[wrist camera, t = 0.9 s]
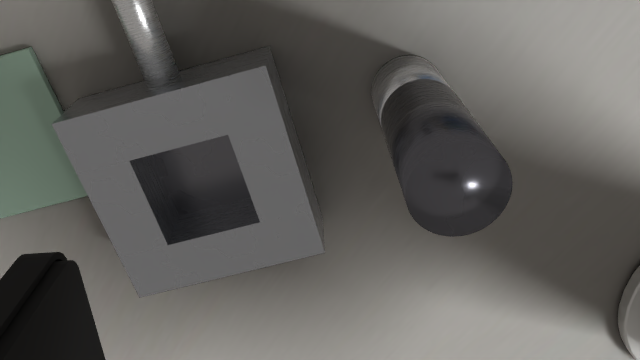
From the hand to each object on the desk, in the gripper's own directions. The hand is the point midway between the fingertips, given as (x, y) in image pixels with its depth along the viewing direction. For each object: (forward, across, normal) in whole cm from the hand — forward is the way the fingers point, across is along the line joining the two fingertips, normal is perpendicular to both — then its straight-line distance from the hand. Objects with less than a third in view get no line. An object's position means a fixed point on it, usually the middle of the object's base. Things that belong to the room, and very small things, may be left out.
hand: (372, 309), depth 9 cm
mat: (+21, +18, +4) cm, 28 cm away
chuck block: (+21, +8, +2) cm, 22 cm away
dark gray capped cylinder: (+21, -4, +3) cm, 22 cm away
